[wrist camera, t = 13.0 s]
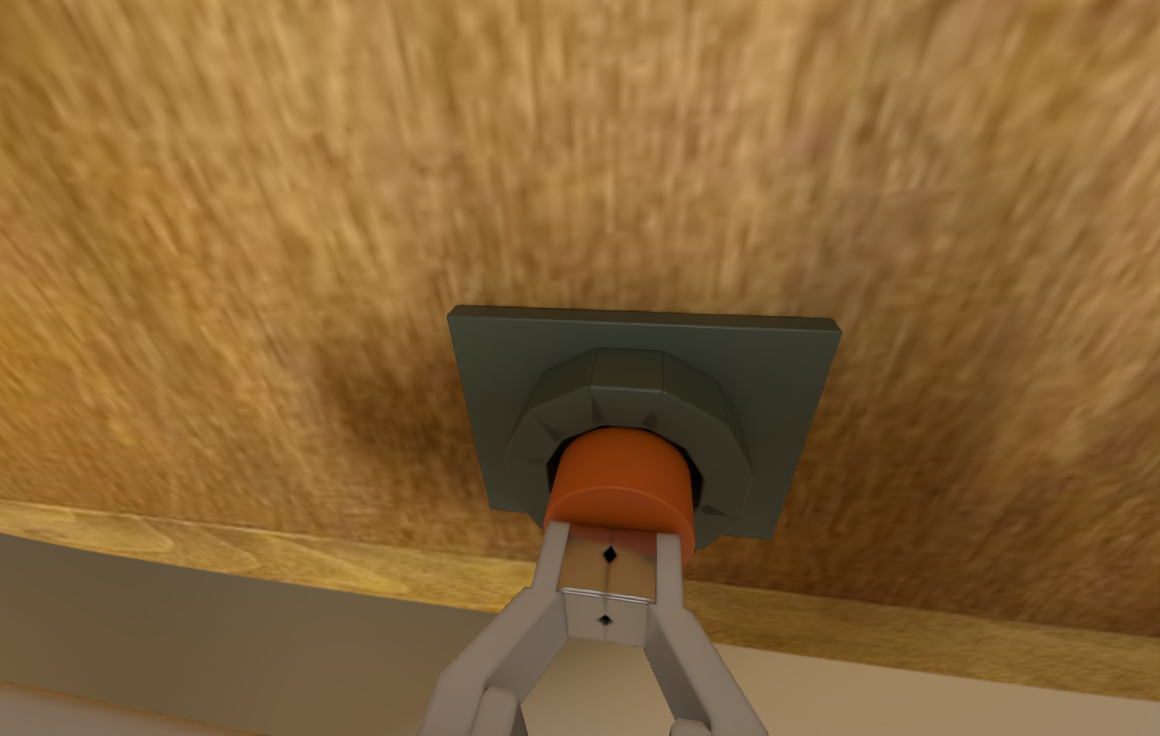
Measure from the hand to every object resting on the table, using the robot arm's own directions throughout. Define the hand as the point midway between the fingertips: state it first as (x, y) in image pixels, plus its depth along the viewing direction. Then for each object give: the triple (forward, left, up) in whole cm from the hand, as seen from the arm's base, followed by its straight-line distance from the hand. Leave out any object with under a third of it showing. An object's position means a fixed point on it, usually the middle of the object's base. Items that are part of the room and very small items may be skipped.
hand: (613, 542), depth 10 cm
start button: (0, 0, -2) cm, 2 cm away
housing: (0, 0, -4) cm, 4 cm away
